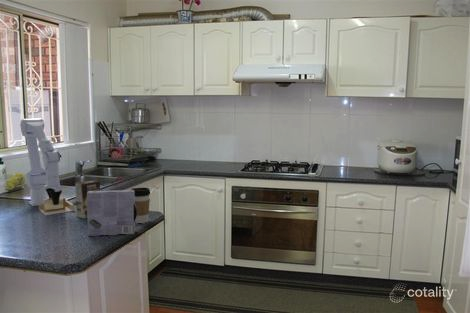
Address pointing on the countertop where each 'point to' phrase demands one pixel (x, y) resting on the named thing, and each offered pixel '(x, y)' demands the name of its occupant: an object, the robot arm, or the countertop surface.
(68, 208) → the arena
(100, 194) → the cake pan box
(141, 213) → the coffee cup
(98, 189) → the coffee box
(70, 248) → the countertop surface
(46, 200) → the maple block
